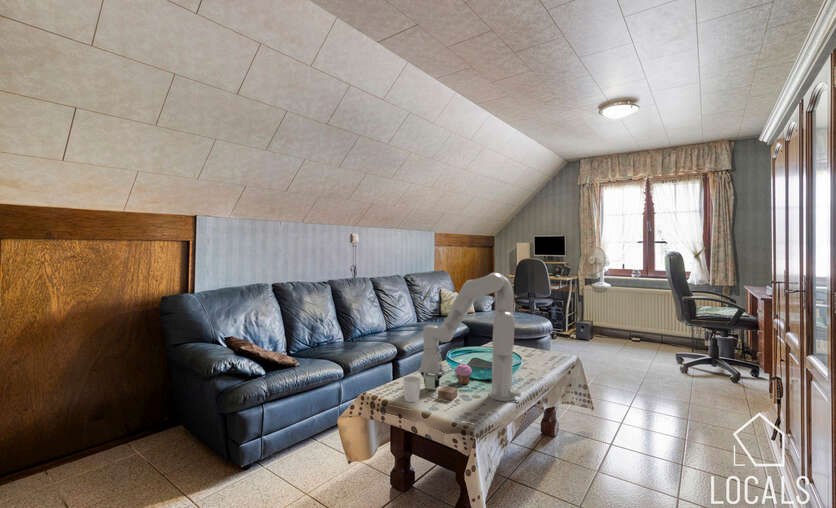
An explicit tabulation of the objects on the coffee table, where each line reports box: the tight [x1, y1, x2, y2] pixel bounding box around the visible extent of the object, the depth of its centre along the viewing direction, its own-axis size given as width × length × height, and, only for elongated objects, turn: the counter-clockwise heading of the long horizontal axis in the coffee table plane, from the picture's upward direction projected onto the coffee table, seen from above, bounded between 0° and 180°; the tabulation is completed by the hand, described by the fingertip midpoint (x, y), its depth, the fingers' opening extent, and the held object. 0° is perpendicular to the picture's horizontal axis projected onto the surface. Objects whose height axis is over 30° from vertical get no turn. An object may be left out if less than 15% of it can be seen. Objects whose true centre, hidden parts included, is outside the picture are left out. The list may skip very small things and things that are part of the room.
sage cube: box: [424, 373, 437, 390], centre depth 196 cm, size 5×5×6 cm
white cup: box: [403, 375, 421, 403], centre depth 183 cm, size 8×8×10 cm
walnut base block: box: [437, 385, 458, 402], centre depth 186 cm, size 7×7×4 cm
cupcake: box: [454, 363, 473, 385], centre depth 208 cm, size 9×9×10 cm
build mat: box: [435, 395, 460, 403], centre depth 186 cm, size 18×12×1 cm, turn 63°
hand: (431, 386), depth 196 cm, fingers closed on sage cube, 5 cm apart
